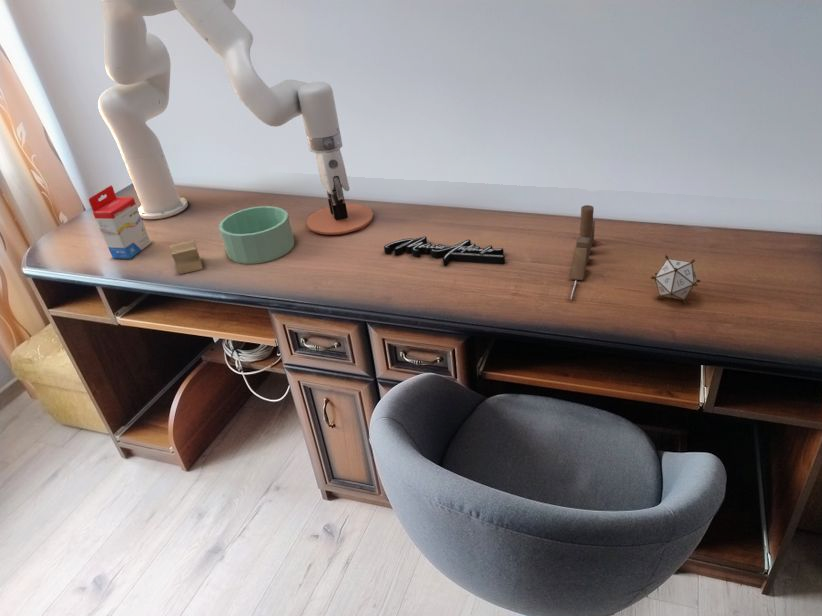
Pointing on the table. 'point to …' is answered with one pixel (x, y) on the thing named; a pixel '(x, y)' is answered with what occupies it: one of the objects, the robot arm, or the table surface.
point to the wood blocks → (583, 244)
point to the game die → (675, 279)
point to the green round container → (257, 234)
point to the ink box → (119, 224)
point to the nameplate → (447, 251)
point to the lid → (327, 224)
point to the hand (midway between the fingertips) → (339, 215)
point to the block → (186, 257)
